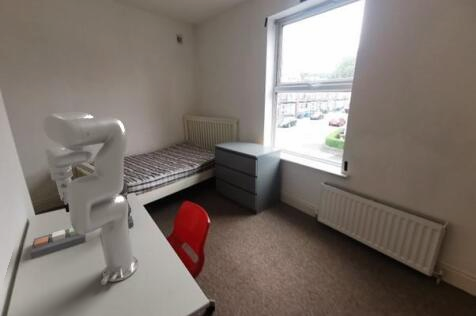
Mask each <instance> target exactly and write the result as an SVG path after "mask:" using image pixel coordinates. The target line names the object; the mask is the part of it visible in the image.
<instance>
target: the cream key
mask: <svg viewBox="0 0 476 316" xmlns="http://www.w3.org/2000/svg"><path fill="white" fill-rule="evenodd" d="M65 230H66V229H60V230H58V231H53V232H52V233H51V234H52V239H53V242H55V241H58V240H62V239H65V238H66V233H65Z"/></svg>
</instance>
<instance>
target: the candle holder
mask: <svg viewBox="0 0 476 316" xmlns="http://www.w3.org/2000/svg"><path fill="white" fill-rule="evenodd" d="M127 183H128V182H127V180H124V185H123V190H122V192H121V193H119V195H122V196H124V197H125V198H126V200H127V202H128V227H129V230H130V229H132V228H133V227H134V226H135V225H134V224H135V223H134V219H133V216H131V212H132V208H131V205H130V202H129V201H128V191H127V190H128V184H127Z"/></svg>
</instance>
